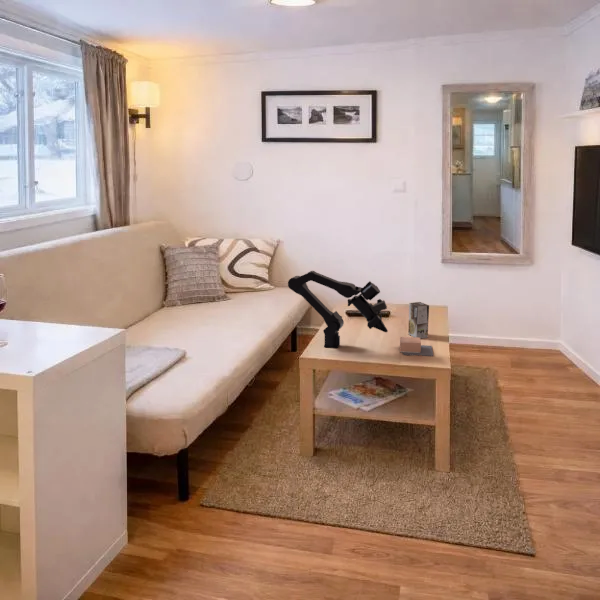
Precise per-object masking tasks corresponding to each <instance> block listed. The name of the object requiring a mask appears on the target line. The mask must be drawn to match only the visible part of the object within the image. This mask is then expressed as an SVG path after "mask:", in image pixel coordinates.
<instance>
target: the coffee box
mask: <svg viewBox="0 0 600 600" xmlns="http://www.w3.org/2000/svg"><path fill="white" fill-rule="evenodd" d="M429 313H430V305H429V304H426V303H424V302H421V301H416V302H409V303H408V333H407V334H409V336H410V335H411V336H410V337H412V336H413V337H418V338H420V339H428V337H429V318H430V317H429V315H430V314H429Z"/></svg>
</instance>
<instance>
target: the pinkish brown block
mask: <svg viewBox="0 0 600 600" xmlns="http://www.w3.org/2000/svg"><path fill="white" fill-rule="evenodd" d="M421 345H422V342H421V338H418V337H412V336H399V352H400V353H403V352H412V353H420V352H421Z"/></svg>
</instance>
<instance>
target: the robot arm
mask: <svg viewBox="0 0 600 600" xmlns="http://www.w3.org/2000/svg"><path fill="white" fill-rule="evenodd" d="M308 282H314V283H316V284H319V285H322V286H324V287H326V288H328V289H329V288H330V289H332V290H333V291H335V292H336V293H337V294H339V295H341V296H342V297H344V298H345V299H347V307H350V306H351V305H353V307H354V308H356V310H357V311H358V312H360V313H359V314H360V315H361V316H362V317H364V318H365V319H366V322H367V324H366V326H367V328H369V330H371V329H373V328H374V329H376V330H379V331H381V332H383V333H388V329H387V327H386V326H385V323H384V322H383V320H382V319H383V315H382V314H381V313H382V311H385V310H387V309H388V306H387V304H386V301H385V300H384V299H380V298H379V299H377V300H376V303H369V301H372V300H373V299H375V297H377V296H378V295H379V294H381V291H380V288H379V287H378V286H377V285H376V284H375V283H373V282H372V281H371V280H369V281H368V282H367V283H366V284H365V285H364V286H363V287H361V286H356V285H355V284H354V283H352V282H347V281H339V280H337V279H334V278H332V277H329V276H326V275H324V274H321V273H319V272H317V271H316V270H310V271H308V272H307V273H305V274H303V275H302V274H301V275H294V276H292V277H291V278H289V279H288V281H287V287H288V288H289V289H290V290H291V291H292V292H294V293H295V294H297V295H299V296H301V297H302V298H303V299H304V300H305V301H306V302H307V303H308V304H309V305H310V306H311V308H313V309H314V310H315V311H316V312H317V313H318V314H319V315H320V316H321V317H322V319H323V321H324V323H325V325H326V327H325V328H324V329H323V330H322V331H323V334H324V345H323V348H334V349H335V348H336V349H337V348H339V346H340V345H341V335H340V334H339V331H340V330H341V329H342V328H343V327H344V325H345V324H344V323H345V322H344V318H343V316H342V315H340V313H339V312H338V311H337V310H335V311H334V312H333V311H331V310H330V309H329V308H328V307H327V306H326V305H325V304H324V303H323V301H321V300H320V299H319V298H318V296H316V295H315V294H314V293H313V292H312V291H311V290H310V289H309V286H308V284H307V283H308ZM358 294H359V295H358ZM368 300H369V301H368ZM379 314H380V315H379Z"/></svg>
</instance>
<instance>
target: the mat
mask: <svg viewBox="0 0 600 600" xmlns="http://www.w3.org/2000/svg"><path fill="white" fill-rule="evenodd" d="M402 355H403V356H414V355H418V357H419V355H422V356H421V357H434V352H433V347H432V345H428V344H427V345H425V344H424V345H423V344H421V352H420V353H412V352H402Z"/></svg>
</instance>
